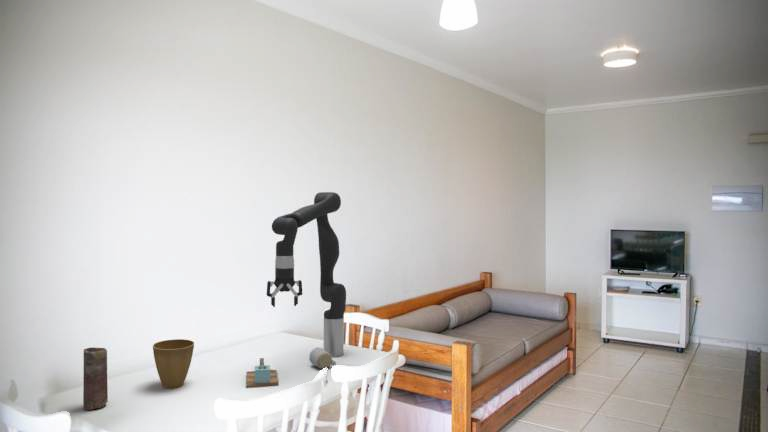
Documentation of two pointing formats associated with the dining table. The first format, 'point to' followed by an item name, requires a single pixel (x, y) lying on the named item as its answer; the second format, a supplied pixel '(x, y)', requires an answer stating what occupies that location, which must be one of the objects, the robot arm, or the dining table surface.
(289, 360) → the dining table surface
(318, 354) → the ceramic mug
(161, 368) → the plant pot
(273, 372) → the pin board
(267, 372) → the collar block
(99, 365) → the candle
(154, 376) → the dining table surface
